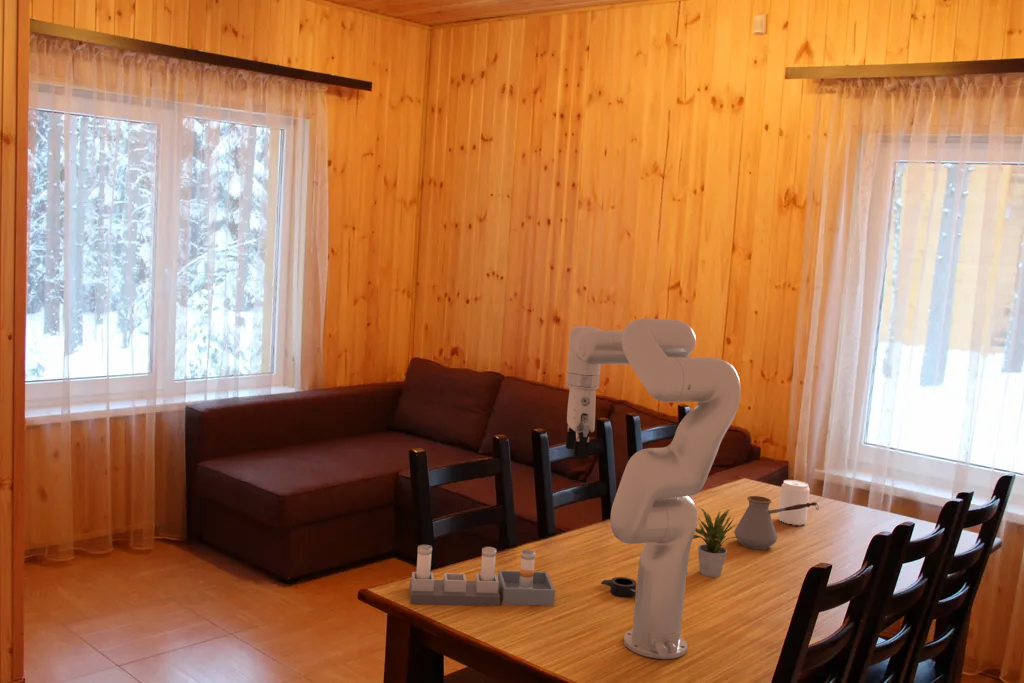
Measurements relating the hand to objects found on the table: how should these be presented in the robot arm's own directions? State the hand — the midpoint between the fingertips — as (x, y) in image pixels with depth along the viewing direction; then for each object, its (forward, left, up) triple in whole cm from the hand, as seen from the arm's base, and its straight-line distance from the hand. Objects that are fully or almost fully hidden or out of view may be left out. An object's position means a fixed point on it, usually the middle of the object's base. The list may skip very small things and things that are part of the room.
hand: (576, 453), depth 225 cm
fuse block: (-12, +27, -30) cm, 42 cm away
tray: (-10, +11, -30) cm, 34 cm away
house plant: (+9, -38, -31) cm, 50 cm away
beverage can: (+53, -78, -31) cm, 99 cm away
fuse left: (-12, +34, -28) cm, 46 cm away
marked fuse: (-10, +11, -29) cm, 33 cm away
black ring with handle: (-7, -12, -31) cm, 34 cm away
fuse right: (-12, +20, -28) cm, 37 cm away
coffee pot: (+28, -62, -31) cm, 75 cm away
